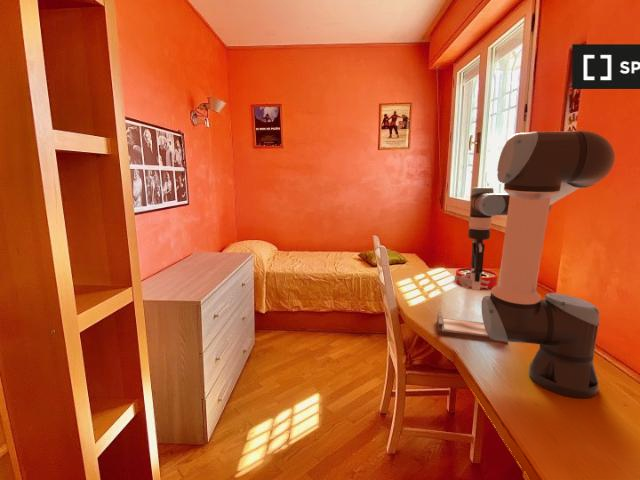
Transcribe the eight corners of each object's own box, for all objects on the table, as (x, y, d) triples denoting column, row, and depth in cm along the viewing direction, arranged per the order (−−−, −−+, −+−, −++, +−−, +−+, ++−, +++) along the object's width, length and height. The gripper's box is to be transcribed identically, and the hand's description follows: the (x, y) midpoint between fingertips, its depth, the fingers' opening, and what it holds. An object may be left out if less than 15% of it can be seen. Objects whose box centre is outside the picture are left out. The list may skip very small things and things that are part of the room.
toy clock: (506, 274, 175) (479, 279, 167) (505, 285, 176) (478, 291, 168) (473, 266, 193) (448, 270, 184) (473, 276, 194) (447, 280, 185)
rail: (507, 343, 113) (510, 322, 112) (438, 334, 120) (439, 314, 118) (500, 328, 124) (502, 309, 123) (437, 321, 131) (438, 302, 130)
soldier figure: (486, 293, 128) (454, 281, 132) (481, 298, 132) (451, 286, 136) (491, 277, 132) (460, 265, 135) (486, 282, 136) (456, 270, 139)
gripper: (466, 225, 139) (462, 279, 143) (471, 231, 121) (467, 293, 125) (486, 225, 137) (481, 281, 141) (494, 231, 119) (489, 295, 123)
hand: (474, 286), depth 133 cm, fingers closed on soldier figure, 6 cm apart
